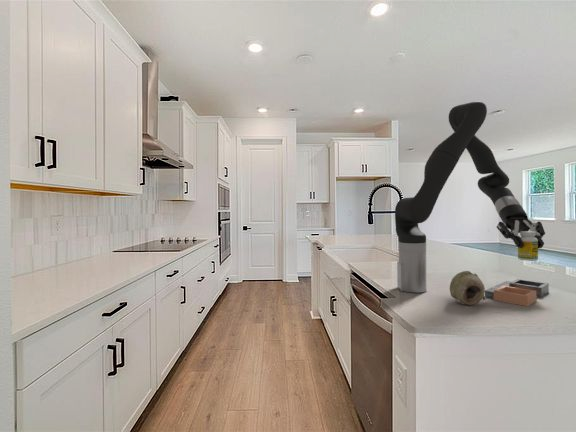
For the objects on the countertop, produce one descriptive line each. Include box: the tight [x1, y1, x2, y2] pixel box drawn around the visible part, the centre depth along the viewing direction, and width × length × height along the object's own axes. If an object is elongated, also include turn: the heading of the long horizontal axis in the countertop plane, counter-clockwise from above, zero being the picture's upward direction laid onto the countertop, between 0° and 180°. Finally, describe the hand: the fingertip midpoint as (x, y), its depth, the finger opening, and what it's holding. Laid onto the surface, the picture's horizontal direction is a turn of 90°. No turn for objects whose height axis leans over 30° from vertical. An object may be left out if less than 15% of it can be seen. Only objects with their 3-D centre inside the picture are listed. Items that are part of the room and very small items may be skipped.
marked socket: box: [493, 286, 537, 307], centre depth 92 cm, size 9×9×3 cm
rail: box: [484, 278, 550, 299], centre depth 98 cm, size 21×12×3 cm, turn 127°
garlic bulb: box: [449, 270, 487, 307], centre depth 90 cm, size 9×8×10 cm
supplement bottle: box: [517, 230, 539, 262], centre depth 100 cm, size 5×5×10 cm
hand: (531, 246), depth 99 cm, fingers closed on supplement bottle, 5 cm apart
